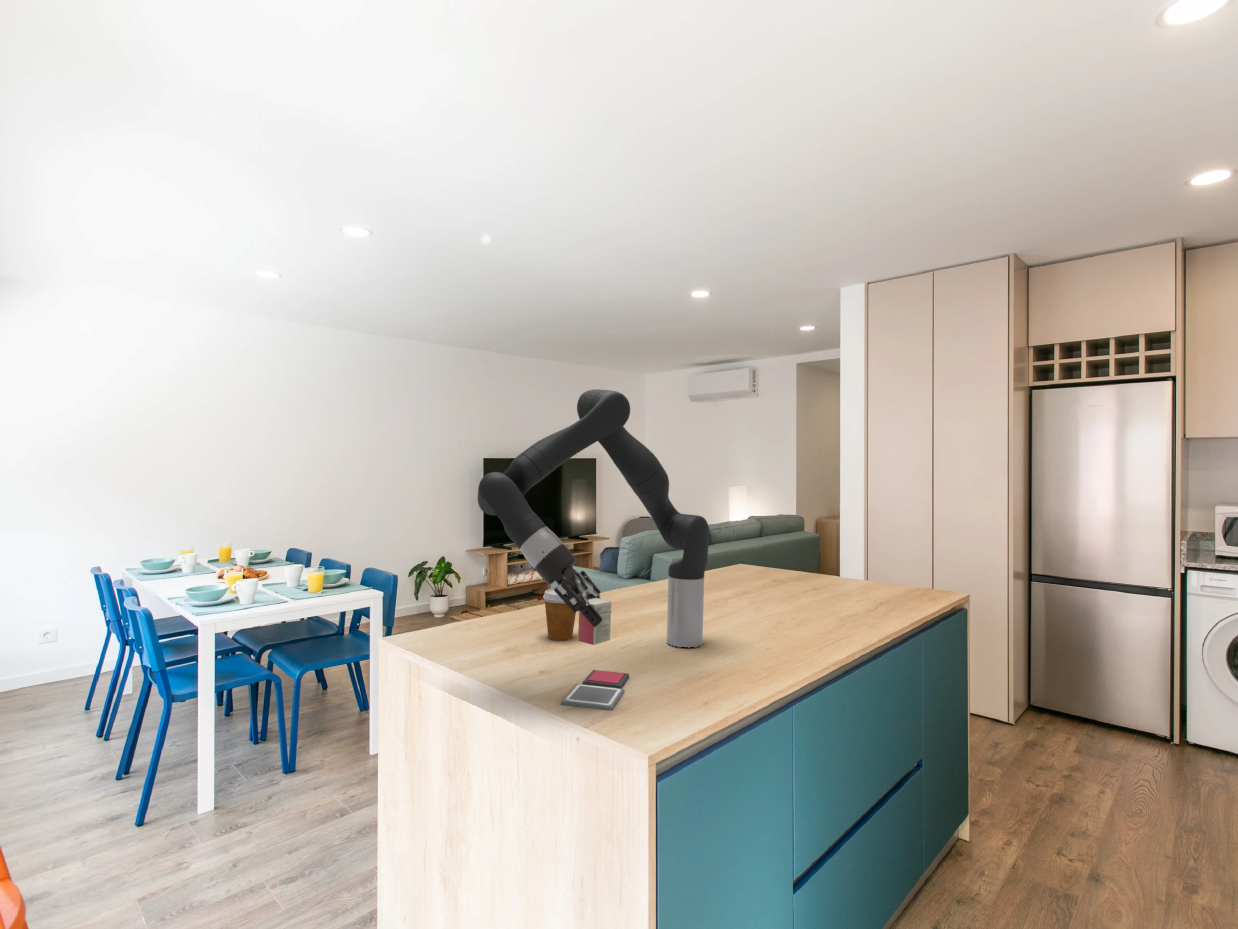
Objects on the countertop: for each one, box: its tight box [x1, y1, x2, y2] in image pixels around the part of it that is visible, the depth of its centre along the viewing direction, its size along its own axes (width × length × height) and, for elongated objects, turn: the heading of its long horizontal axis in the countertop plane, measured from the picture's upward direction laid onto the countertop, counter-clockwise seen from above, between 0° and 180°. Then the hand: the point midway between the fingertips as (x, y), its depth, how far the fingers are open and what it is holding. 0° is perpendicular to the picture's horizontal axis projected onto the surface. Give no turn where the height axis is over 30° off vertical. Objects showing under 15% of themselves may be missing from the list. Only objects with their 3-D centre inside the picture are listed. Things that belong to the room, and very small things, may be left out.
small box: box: [577, 598, 612, 646], centre depth 125 cm, size 5×4×8 cm
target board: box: [560, 683, 625, 711], centre depth 125 cm, size 10×10×1 cm
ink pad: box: [582, 669, 630, 689], centre depth 134 cm, size 8×8×1 cm
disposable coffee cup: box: [542, 588, 577, 642], centre depth 167 cm, size 10×10×12 cm
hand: (603, 619), depth 124 cm, fingers closed on small box, 6 cm apart
